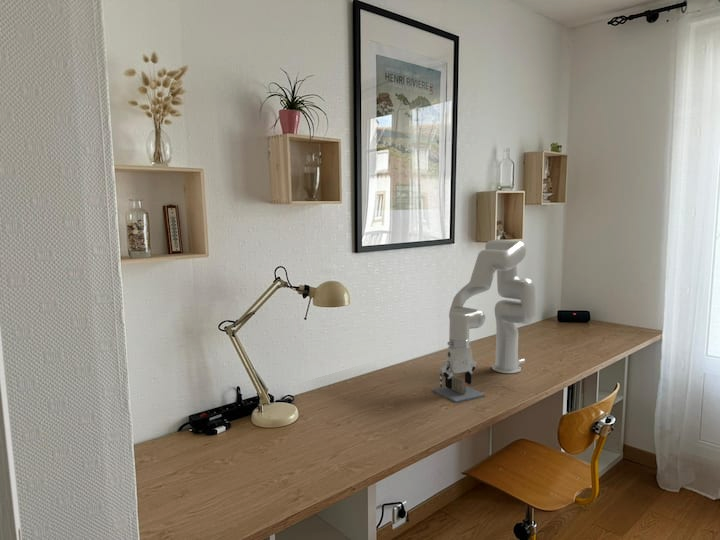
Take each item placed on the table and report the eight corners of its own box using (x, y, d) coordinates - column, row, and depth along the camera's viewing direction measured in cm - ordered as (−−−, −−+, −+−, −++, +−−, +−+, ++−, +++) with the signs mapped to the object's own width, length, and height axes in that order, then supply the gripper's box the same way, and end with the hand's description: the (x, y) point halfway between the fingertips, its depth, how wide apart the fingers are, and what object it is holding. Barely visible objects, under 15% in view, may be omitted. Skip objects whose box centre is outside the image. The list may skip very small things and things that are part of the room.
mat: (460, 384, 209) (460, 382, 209) (484, 396, 196) (485, 394, 196) (432, 390, 202) (432, 388, 202) (456, 403, 189) (456, 401, 189)
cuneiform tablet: (439, 373, 204) (458, 381, 194) (447, 371, 206) (466, 379, 195) (440, 386, 205) (459, 396, 194) (447, 384, 207) (466, 394, 196)
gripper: (447, 348, 189) (446, 392, 191) (482, 342, 197) (481, 384, 200) (435, 343, 196) (434, 386, 198) (470, 338, 204) (469, 379, 206)
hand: (458, 385), depth 199 cm, fingers open, 9 cm apart
